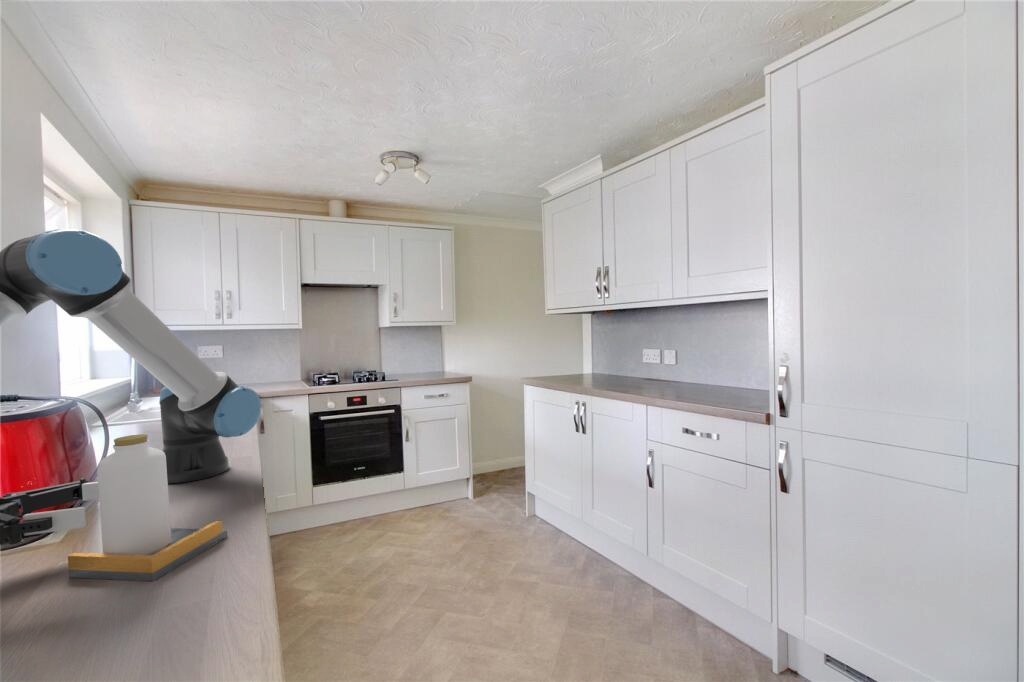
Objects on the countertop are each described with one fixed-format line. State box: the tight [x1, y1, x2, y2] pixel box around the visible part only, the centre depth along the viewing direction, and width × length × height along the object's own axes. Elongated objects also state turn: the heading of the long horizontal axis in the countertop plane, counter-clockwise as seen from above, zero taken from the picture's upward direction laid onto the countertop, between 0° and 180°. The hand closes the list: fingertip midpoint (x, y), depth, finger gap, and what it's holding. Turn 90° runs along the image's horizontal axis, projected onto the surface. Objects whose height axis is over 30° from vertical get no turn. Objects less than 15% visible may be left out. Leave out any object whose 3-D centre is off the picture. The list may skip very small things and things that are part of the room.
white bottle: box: [96, 433, 172, 555], centre depth 72 cm, size 8×8×18 cm
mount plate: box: [67, 520, 228, 582], centre depth 74 cm, size 14×14×3 cm
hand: (109, 500), depth 72 cm, fingers open, 13 cm apart
